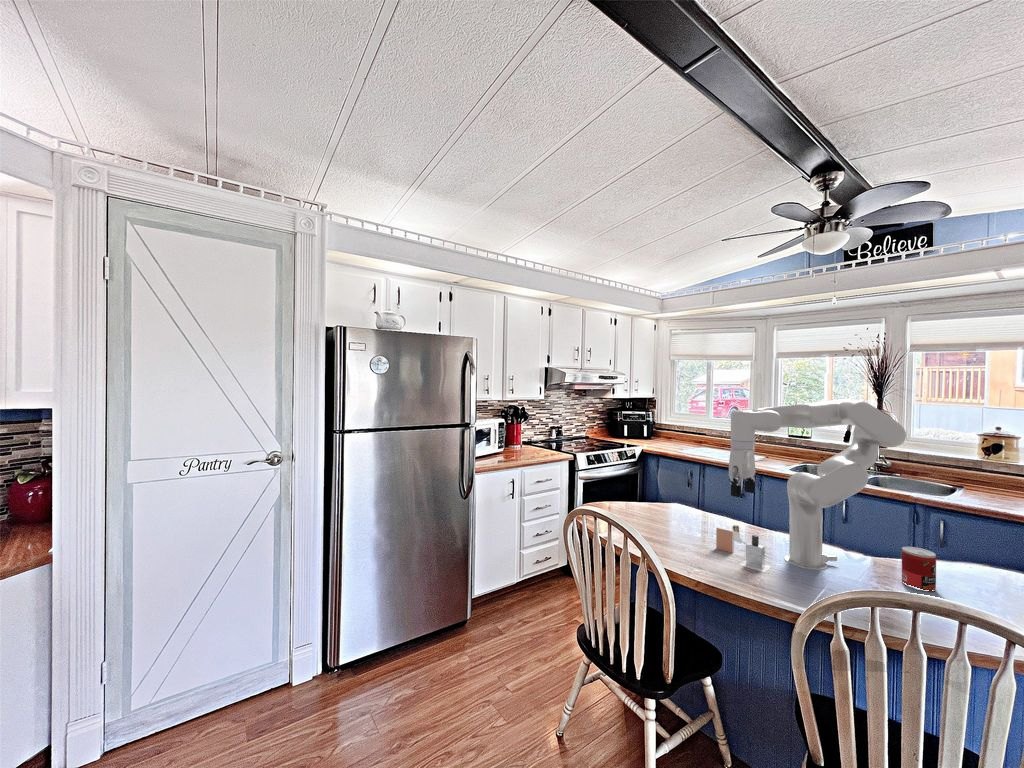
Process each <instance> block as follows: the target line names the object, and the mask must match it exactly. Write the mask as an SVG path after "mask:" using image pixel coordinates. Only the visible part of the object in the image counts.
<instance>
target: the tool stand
mask: <svg viewBox="0 0 1024 768" xmlns="http://www.w3.org/2000/svg"><path fill="white" fill-rule="evenodd" d="M738 566H739V567H740V566H741V567H744V568H747V569H750V570H753V571H757V572H758V571H759V572H761V573H766V572H767V571H769V570H770V569H771V568H772V566H771V565H768V564H764V568H763V569H760V568H756V567H753V566H749V565H746V559H745V560H744V561H743V562H741V563H739V564H738Z"/></svg>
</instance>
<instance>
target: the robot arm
mask: <svg viewBox="0 0 1024 768" xmlns="http://www.w3.org/2000/svg"><path fill="white" fill-rule="evenodd" d="M846 425H847V426H848V425H849V426H853V427H854V428H853V432H852V433H853V434H852V435H853V437H852V442H851V444H850V445H849V446H848V447H846V448H845V449H844V450H842V451H840V452H838V453H837V454H834V455H833V456H831V457H829V458H827V459H825V460H823V461H822V462H821V463H820V464H819V465H818V466H817V470H816V473H817V475H818V476H817V475H815V474H812V473H808V472H803V471H802V472H801V471H799V472H796V473H793V474H792V475H790V477H789V478H788V479H787V481H786V482H787V484H786V489H787V490H786V491H787V497H788V502H789V505H788V506H789V540H788V541H789V542H788V543H789V544H788V545H789V547H788V548H789V553H788V554H787V555H785V556H784V557H783V558H784V559H783V560H784V561H785V562H786V563H788V564H789V565H791V566H794V567H797V568H800V569H805V570H811V571H825V570H827V569H828V567H829V566H828V562H837V561H838V557H837V555H834V554H833V555H832V554H831V555H829V554H828V553H826V552H825V553H824V552H823V521H824V520H823V519H824V518H823V517H824V516H823V509H826V508H831V507H832V506H835V505H838V504H839V503H841V502H843V501H845V500H846V499H848V498H850V497H852V496H855V495H856V494H858V493H859V492H861V491H862V490H863V489H864V488H865V487H866V485H867V484H868V481H869V473H868V471H867V470H868V469H870V468H871V467H872V466H873V465H874V464H875V463H876V461H877V459H878V454H879V447H885V448H897V447H898V446H901V445H902V444H903V443H904V442H905V441H906V439H907V431H906V429H905V428H904V427H903V425H901V423H899V422H898V421H897V420H895V419H893V418H892V417H890V416H889V415H888V414H885V413H884V412H883V411H882V410H880V409H878V408H876V407H875V406H874V405H872V404H870V403H868V402H866V401H863V400H854V399H852V400H851V399H838V400H828V401H821V402H812V403H811V402H810V403H809V402H808V403H801V404H791V405H781V406H770V407H762V408H754V409H752V410H746V409H737V410H733V411H731V413H730V452H729V459H728V461H729V462H728V477H729V479H728V480H729V481H730V482H729V484H730V496H731V497H735V498H741V497H742V485H741V482H742V480H744V492H745V493H749V494H754V493H755V491H756V489H755V486H756V485H755V483H756V472H757V467H756V461H755V460H756V459H755V457H756V456H755V451H756V431H757V432H763V433H773V432H776V431H778V430H780V429H781V428H782V427H783V428H796V429H797V428H798V429H817V428H823V427H835V426H846Z"/></svg>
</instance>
